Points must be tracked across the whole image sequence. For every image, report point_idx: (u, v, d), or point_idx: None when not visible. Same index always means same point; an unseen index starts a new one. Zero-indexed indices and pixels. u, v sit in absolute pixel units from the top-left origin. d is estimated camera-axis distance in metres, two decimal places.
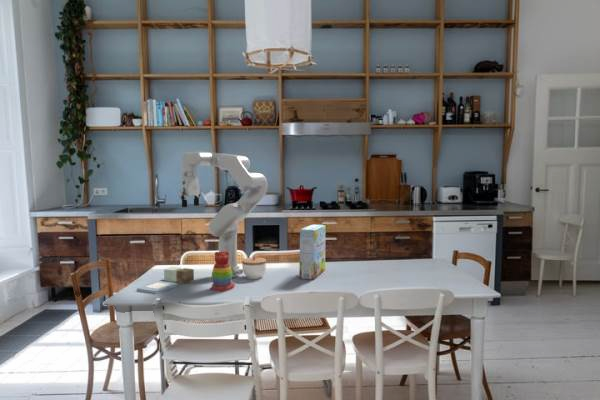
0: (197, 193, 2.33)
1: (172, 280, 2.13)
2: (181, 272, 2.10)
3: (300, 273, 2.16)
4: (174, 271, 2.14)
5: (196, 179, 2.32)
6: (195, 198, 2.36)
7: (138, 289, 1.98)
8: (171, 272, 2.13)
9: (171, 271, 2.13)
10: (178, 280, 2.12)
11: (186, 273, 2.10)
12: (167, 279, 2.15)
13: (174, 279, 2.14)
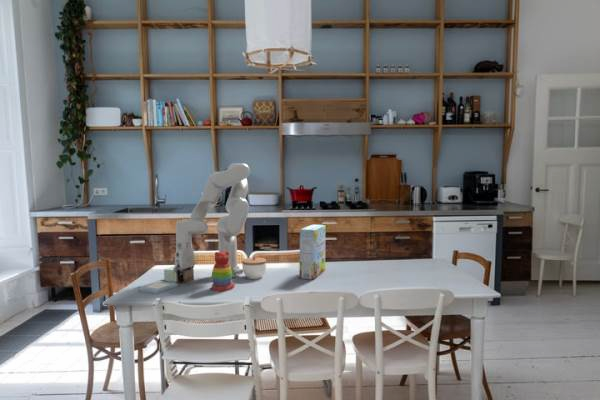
0: (192, 264, 2.14)
1: (172, 280, 2.13)
2: None
3: (300, 273, 2.16)
4: (174, 271, 2.14)
5: (191, 249, 2.13)
6: None
7: (138, 289, 1.98)
8: (171, 272, 2.13)
9: (171, 271, 2.13)
10: None
11: (186, 273, 2.10)
12: (167, 279, 2.15)
13: (174, 279, 2.14)
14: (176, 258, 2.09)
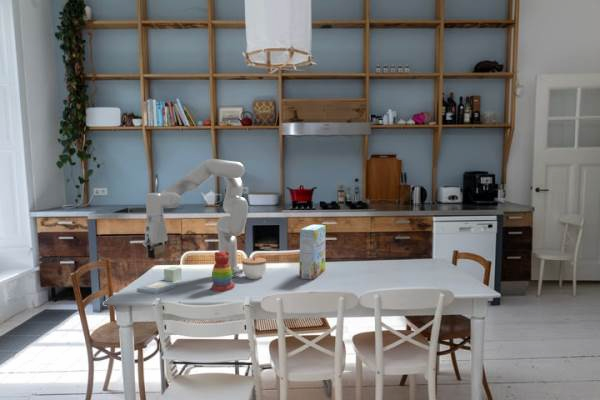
0: (164, 239, 2.01)
1: (172, 280, 2.13)
2: None
3: (300, 273, 2.16)
4: (174, 271, 2.14)
5: (163, 223, 2.01)
6: None
7: (138, 289, 1.98)
8: (171, 272, 2.13)
9: (171, 271, 2.13)
10: None
11: (157, 248, 1.97)
12: (167, 279, 2.15)
13: (174, 279, 2.14)
14: (146, 232, 1.96)
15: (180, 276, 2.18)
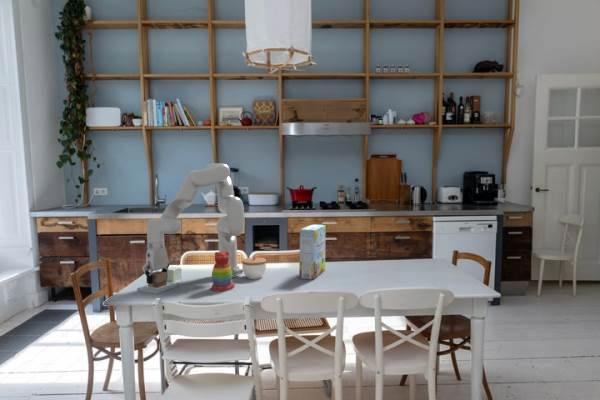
0: (165, 265, 2.02)
1: (172, 280, 2.13)
2: (153, 275, 1.99)
3: (300, 273, 2.16)
4: (174, 271, 2.14)
5: (163, 249, 2.01)
6: (163, 270, 2.06)
7: (138, 289, 1.98)
8: (171, 272, 2.13)
9: (171, 271, 2.13)
10: (150, 284, 2.00)
11: (158, 276, 1.98)
12: (167, 279, 2.15)
13: (174, 279, 2.14)
14: (147, 259, 1.97)
15: (180, 276, 2.18)
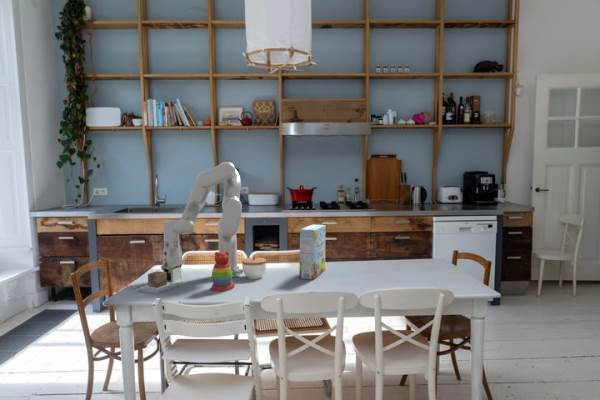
0: (180, 263, 2.18)
1: (172, 280, 2.13)
2: (153, 275, 1.99)
3: (300, 273, 2.16)
4: (174, 271, 2.14)
5: (179, 248, 2.17)
6: None
7: (138, 289, 1.98)
8: (171, 272, 2.13)
9: (171, 271, 2.13)
10: (150, 284, 2.00)
11: (158, 276, 1.98)
12: None
13: (174, 279, 2.14)
14: (164, 257, 2.12)
15: (180, 276, 2.18)
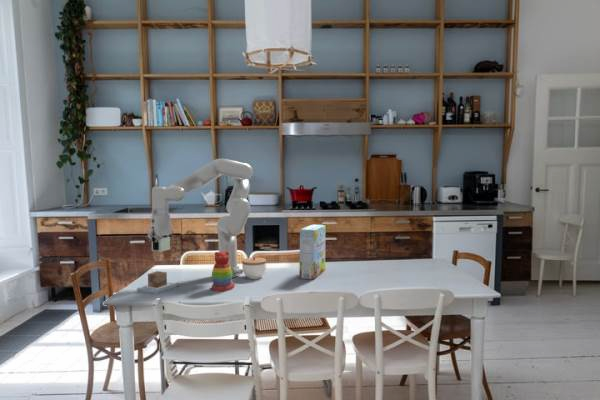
0: (169, 232, 2.06)
1: (159, 249, 2.02)
2: (153, 275, 1.99)
3: (300, 273, 2.16)
4: (162, 240, 2.02)
5: (168, 216, 2.06)
6: None
7: (138, 289, 1.98)
8: (159, 241, 2.02)
9: (159, 240, 2.02)
10: (150, 284, 2.00)
11: (158, 276, 1.98)
12: None
13: (162, 248, 2.02)
14: (151, 225, 2.01)
15: (169, 246, 2.06)
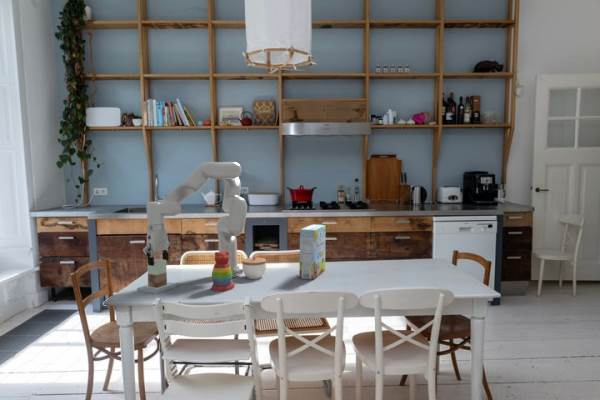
0: (166, 247, 2.03)
1: (156, 273, 1.98)
2: (153, 275, 1.99)
3: (300, 273, 2.16)
4: (158, 263, 1.98)
5: (164, 232, 2.02)
6: (164, 252, 2.07)
7: (138, 289, 1.98)
8: (155, 264, 1.98)
9: (155, 263, 1.98)
10: (150, 284, 2.00)
11: (158, 276, 1.98)
12: (150, 272, 1.99)
13: (158, 272, 1.98)
14: (148, 241, 1.97)
15: (165, 269, 2.02)
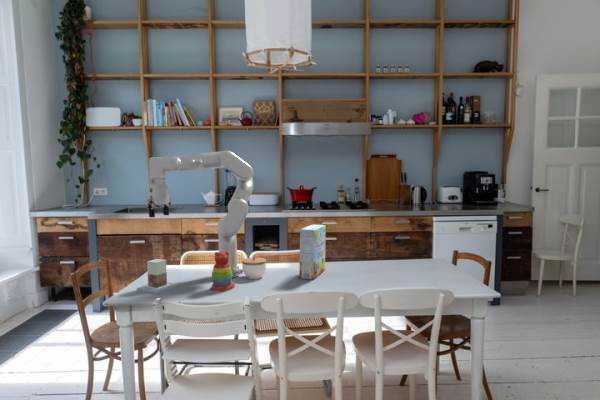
0: (166, 202, 2.12)
1: (156, 273, 1.98)
2: (153, 275, 1.99)
3: (300, 273, 2.16)
4: (158, 263, 1.98)
5: (165, 186, 2.11)
6: (165, 207, 2.15)
7: (138, 289, 1.98)
8: (155, 264, 1.98)
9: (155, 263, 1.98)
10: (150, 284, 2.00)
11: (158, 276, 1.98)
12: (150, 272, 1.99)
13: (158, 272, 1.98)
14: (149, 194, 2.06)
15: (165, 269, 2.02)
